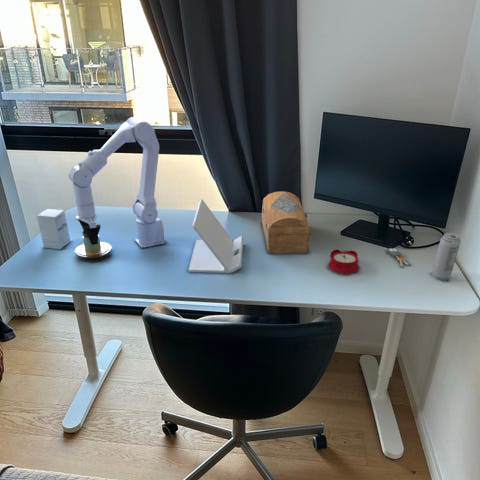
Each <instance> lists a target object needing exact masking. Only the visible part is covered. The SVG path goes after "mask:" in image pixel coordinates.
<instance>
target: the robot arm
mask: <svg viewBox="0 0 480 480" xmlns="http://www.w3.org/2000/svg"><path fill="white" fill-rule="evenodd" d="M136 141H137V143H139V145H140V147H142V159H141V160H142V161H141V170H140V181H139V189H138V190H139V192H138V193H137V195H136V196H135V201H134V202H133V204H132V212H133V213H134V215H136V218H135V221H136V229H137V237H138V238H135V239H134V240H135V242H136V243H137V244H138V245H139V247H140V248H141V249H145V248H148V247H153V246H159V245H163V244H166V240H165V230H164V224H163V220H162V219H161V218H160V217H158V215H159V213H158V209H157V200H156V198H155V192H156V182H157V173H158V164H159V155H160V143H159V140H158V138H157V135H156V129H154V127H153V126H152V125H151V123H149V122H147V121H144V120H142V119H140V118H138V117H136V116H131V117H129V118H128V119H127V120H126V121H125V122H123V123H122V124H121V125H120V126H119V128H118V129H117V130H116V131H115V133H114V134H112V135H111V137H110V138H109V139H107V141H106V142H105V143H104V144H103V146H102V147H100V149H93V150H92V151H91V150H89V151H88V152H87V156H86V157H84V159H83V160H82V161H81V162H80V161H79V162H78V163H77V165H76V166H73V167H71V169H70V170H69V174H68V178H69V180H70V181H71V182H72V187H73V194H74V199H75V204H76V210H77V214H78V215H76V216H75V217H74V219H75V220H76V221H78V222H79V223H80V226H81V228H82V231H84V230H85V231H86V232H87V234H88V237H89V240H90V242H91V244H92V245H94V244H98V235H99V233H100V230H101V227H102V226H101V224H100V223H99V224H97V222H96V221H97V217H98V216H97V215H98V214H97V213H96V208H95V202H94V197H93V196H94V195H93V189H92V188H91V184H92V181H93V178H94V177H95V176H96V175H97V174H98V173H99V172H100V171H101V170H102V169H103V168H104V167H106V166H107V164H108V158H109V157H110V156H111V155H112V154H114V153H115V152H116V151H117V150H119V148H121V147H122V146H123V145H124V144H125V143H136Z"/></svg>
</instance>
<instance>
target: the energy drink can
mask: <svg viewBox="0 0 480 480" xmlns="http://www.w3.org/2000/svg"><path fill="white" fill-rule="evenodd" d="M460 238H461V236H460V235H459V234H457V233H454V232H445V233H443V236H442V237H441V238H440V239H439V240H440V241H439V244H438V248H437V252H436V255H435V258H434V263H433V268H432V271H431V274H432V277H433V278H434V279H436V280H438V281H447V280H449V279H450V278H451V276H452V274H453V273H452V272H453V270H454V267H455V263H456V259H457V256H458V252H459V249H460V246H461V239H460Z"/></svg>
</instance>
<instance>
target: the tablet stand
mask: <svg viewBox="0 0 480 480" xmlns="http://www.w3.org/2000/svg"><path fill="white" fill-rule="evenodd" d="M193 218H194V219H193V221H192V226H191V227H192V229H193V230H194V231H195V233H196V234H197V235H198V237H199V238H200V239H196V240H195V243H194V247H193V251H192V255H191V259H190V262H189V265H188V273H189V272H190V273H213V274H214V273H215V274H216V273H217V274H233V273H234V272H236V271H237V270H240V269H241V268H242V265H243V264H242V263H243V248H244V247H243V246H244V237H243V236H242V235H240V236H238V237H237V238H235V239H233V238H231V236H230V235H229V234H228V233H229V232H228V231H226V229H225V228H224V226H223V225H222V224H221V222H220V221H219V220H218V219H217V217H216V216H215V214H214V213H213V212H212V210H211V209H210V208H209V206H208V205H207V204H206V202H205V201H204V199H199V201H198V205H197V208H196V211H195V214H194V217H193Z"/></svg>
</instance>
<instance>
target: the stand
mask: <svg viewBox="0 0 480 480" xmlns="http://www.w3.org/2000/svg"><path fill="white" fill-rule="evenodd" d="M100 245H101V249H100V250H98V251H95V252H88V251H86V250H85V247H84V243H82V244H80V245H78V246H76V247H75V248H74V251H73V252H74V255H75V256H77V257H78V259H79V260H81V261H82V262H89V263H90V262H98V261H103V260H105V259H107V258H108V257H110V255H111V252H112V250H113V246H112V245H111V244H110V243H108V242H105V241H100Z"/></svg>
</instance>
